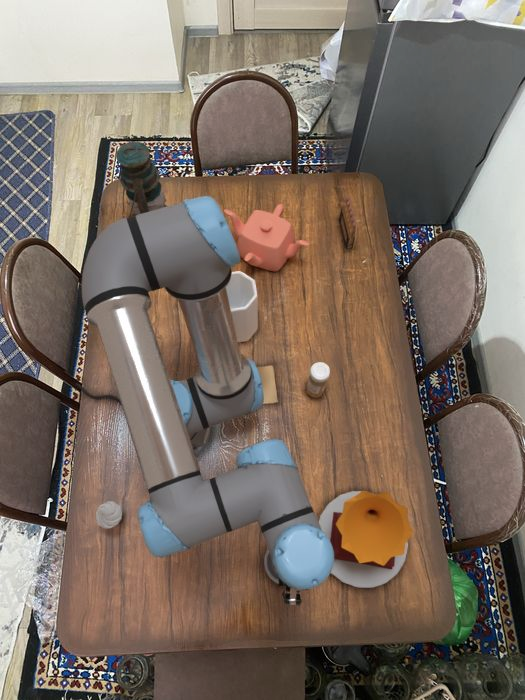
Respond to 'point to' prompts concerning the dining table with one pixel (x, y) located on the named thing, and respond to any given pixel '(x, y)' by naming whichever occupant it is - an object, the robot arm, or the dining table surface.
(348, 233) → the bullet clip
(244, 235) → the pot
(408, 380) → the dining table surface
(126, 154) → the lantern
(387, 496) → the gramophone
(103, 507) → the ice cream cone
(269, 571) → the grey cylinder
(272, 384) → the coaster
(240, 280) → the cup
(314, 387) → the sprinkles bottle
